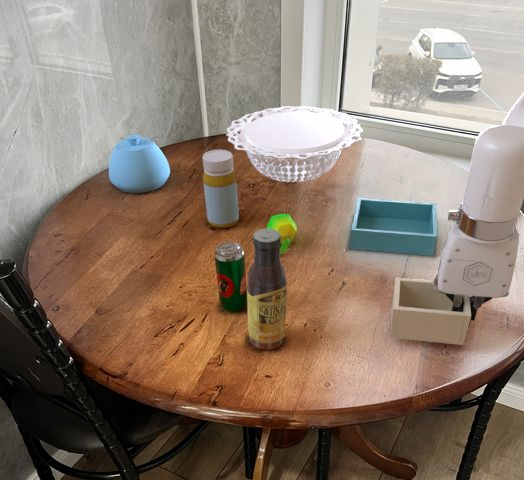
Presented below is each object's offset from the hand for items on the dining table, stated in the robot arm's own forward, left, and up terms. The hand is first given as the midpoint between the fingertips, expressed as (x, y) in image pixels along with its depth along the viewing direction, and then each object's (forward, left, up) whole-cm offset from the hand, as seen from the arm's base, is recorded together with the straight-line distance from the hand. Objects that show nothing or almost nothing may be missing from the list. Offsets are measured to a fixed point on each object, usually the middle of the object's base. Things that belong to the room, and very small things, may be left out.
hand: (461, 321), depth 88 cm
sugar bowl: (+75, -47, -3) cm, 88 cm away
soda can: (+39, -2, -3) cm, 39 cm away
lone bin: (+5, 0, -1) cm, 6 cm away
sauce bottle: (+31, +6, -3) cm, 32 cm away
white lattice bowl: (+37, -53, -3) cm, 64 cm away
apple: (+34, -24, -3) cm, 41 cm away
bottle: (+49, -31, -3) cm, 58 cm away
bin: (+12, -31, -3) cm, 33 cm away
